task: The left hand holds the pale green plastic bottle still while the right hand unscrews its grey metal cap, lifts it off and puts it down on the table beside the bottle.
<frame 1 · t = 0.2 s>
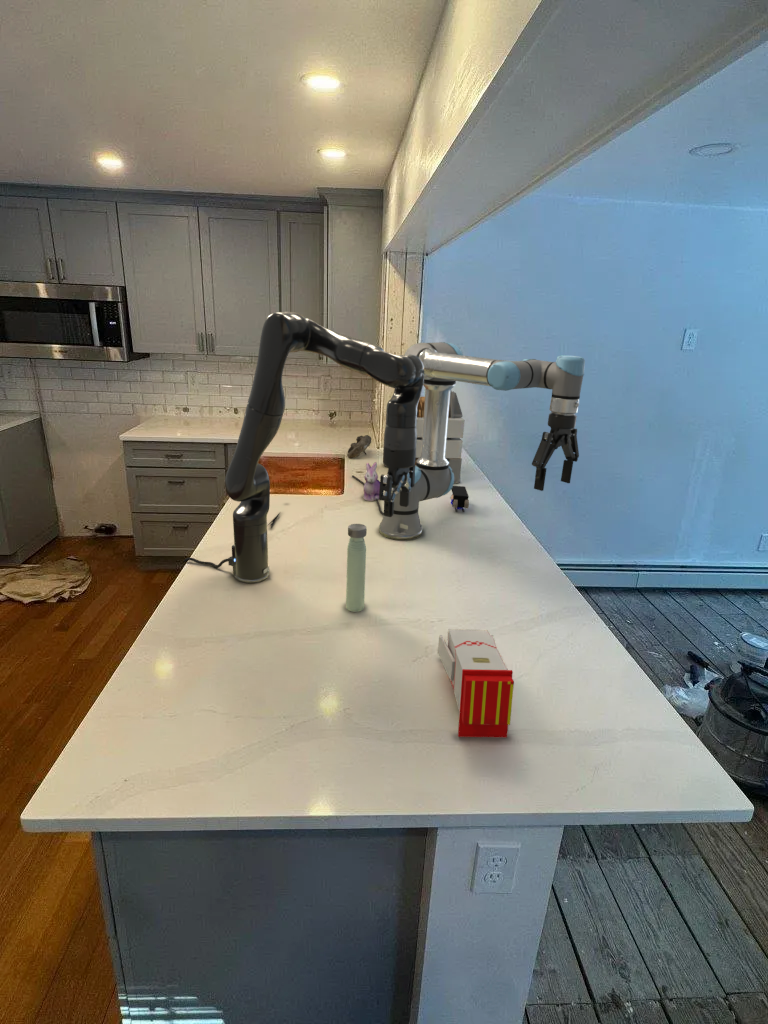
left hand: (396, 511, 136), 29 cm above the counter, tool pointing down, fingers open, 8 cm apart
right hand: (552, 485, 166), 28 cm above the counter, tool pointing down, fingers open, 13 cm apart
bottle: (355, 607, 150), on the counter
grey slatted crate: (419, 473, 275), on the counter
feather: (278, 516, 211), on the counter
toy: (469, 691, 119), on the counter
fossil: (359, 454, 305), on the counter
figurine character: (458, 508, 229), on the counter
figurine: (372, 498, 236), on the counter
cap: (357, 528, 142), point 23 cm above the counter, screwed on, not yet turned
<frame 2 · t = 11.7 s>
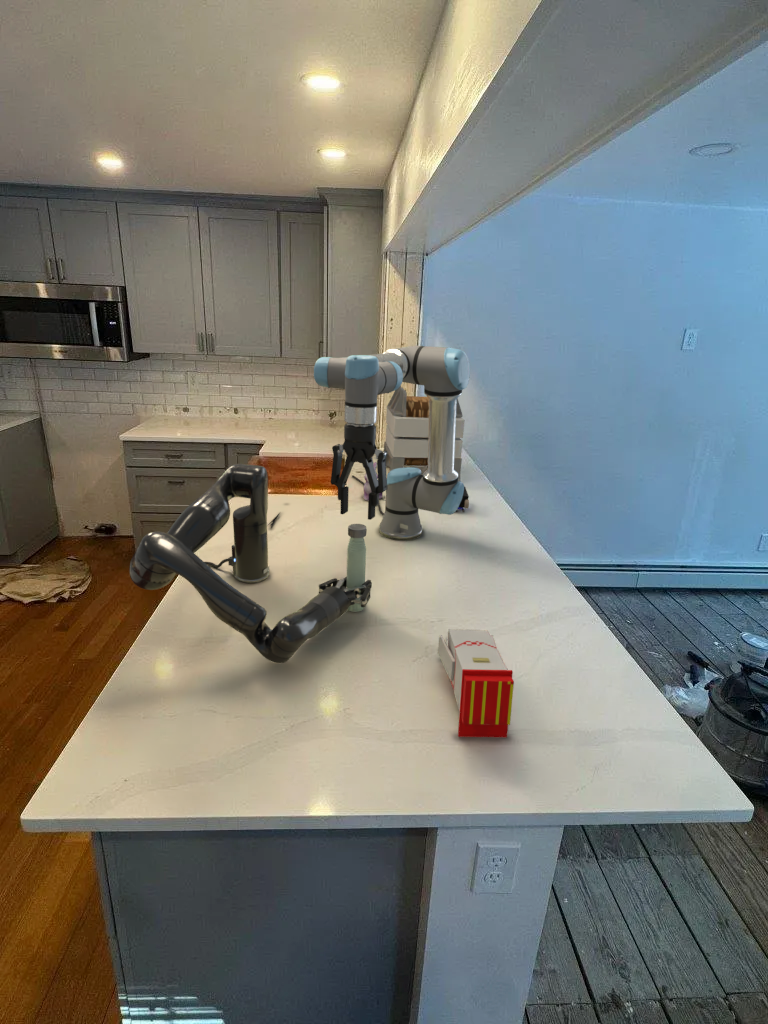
left hand: (360, 580, 150), 7 cm above the counter, tool horizontal, fingers closed on bottle, 4 cm apart
right hand: (357, 515, 141), 26 cm above the counter, tool pointing down, fingers open, 7 cm apart
bottle: (355, 607, 150), on the counter, touching left hand
everything else where it was.
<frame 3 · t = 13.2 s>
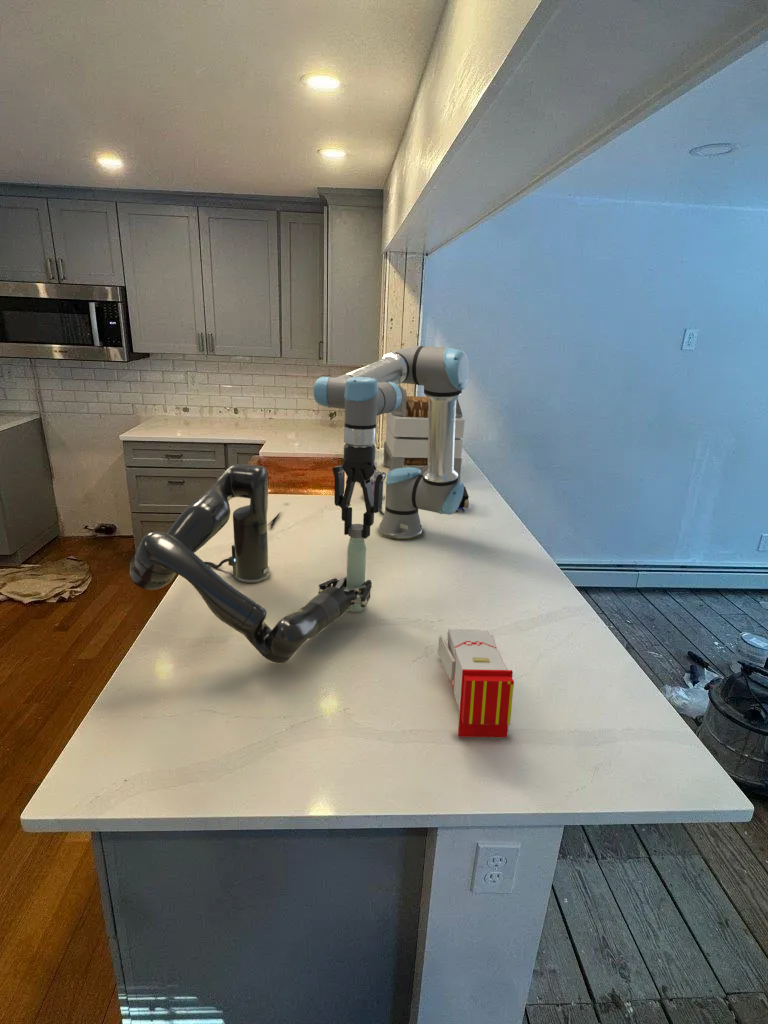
left hand: (360, 580, 150), 7 cm above the counter, tool horizontal, fingers closed on bottle, 4 cm apart
right hand: (357, 534, 143), 21 cm above the counter, tool pointing down, fingers closed on cap, 4 cm apart
bottle: (355, 607, 150), on the counter, touching left hand
cap: (357, 528, 142), point 23 cm above the counter, screwed on, not yet turned, touching right hand
everything else where it was.
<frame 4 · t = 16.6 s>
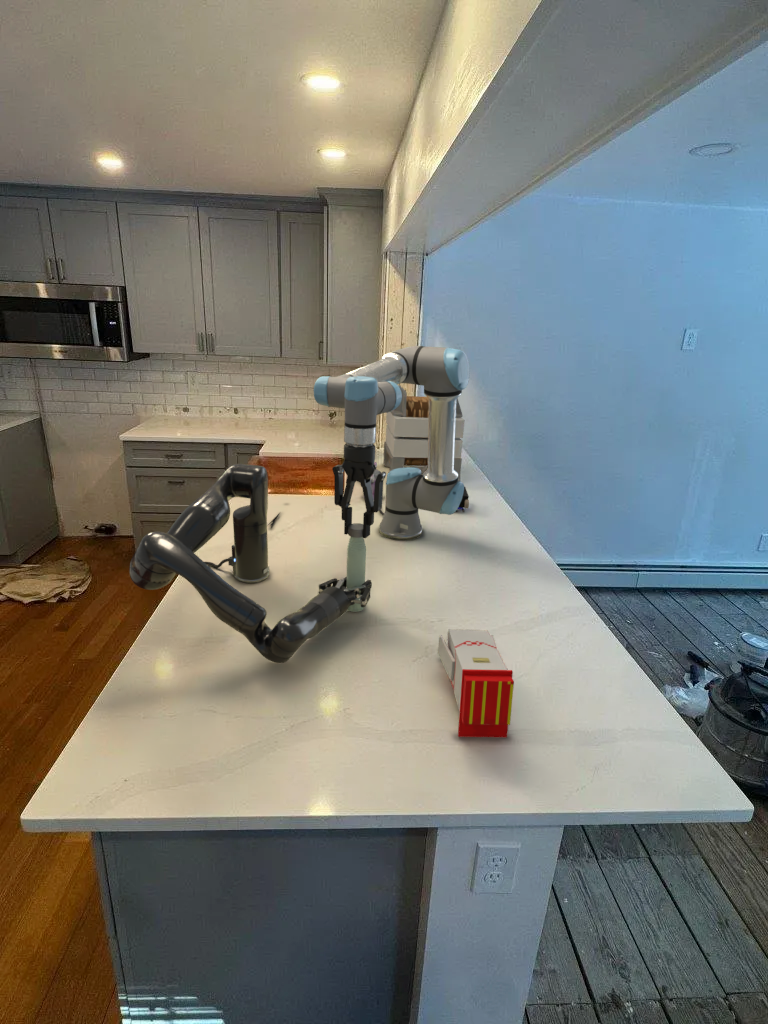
left hand: (360, 580, 150), 7 cm above the counter, tool horizontal, fingers closed on bottle, 4 cm apart
right hand: (357, 534, 143), 21 cm above the counter, tool pointing down, fingers closed on cap, 4 cm apart
bottle: (355, 607, 150), on the counter, touching left hand
cap: (357, 527, 142), point 23 cm above the counter, turned 117° so far, risen 0.1 cm, still on its thread, touching right hand
everything else where it was.
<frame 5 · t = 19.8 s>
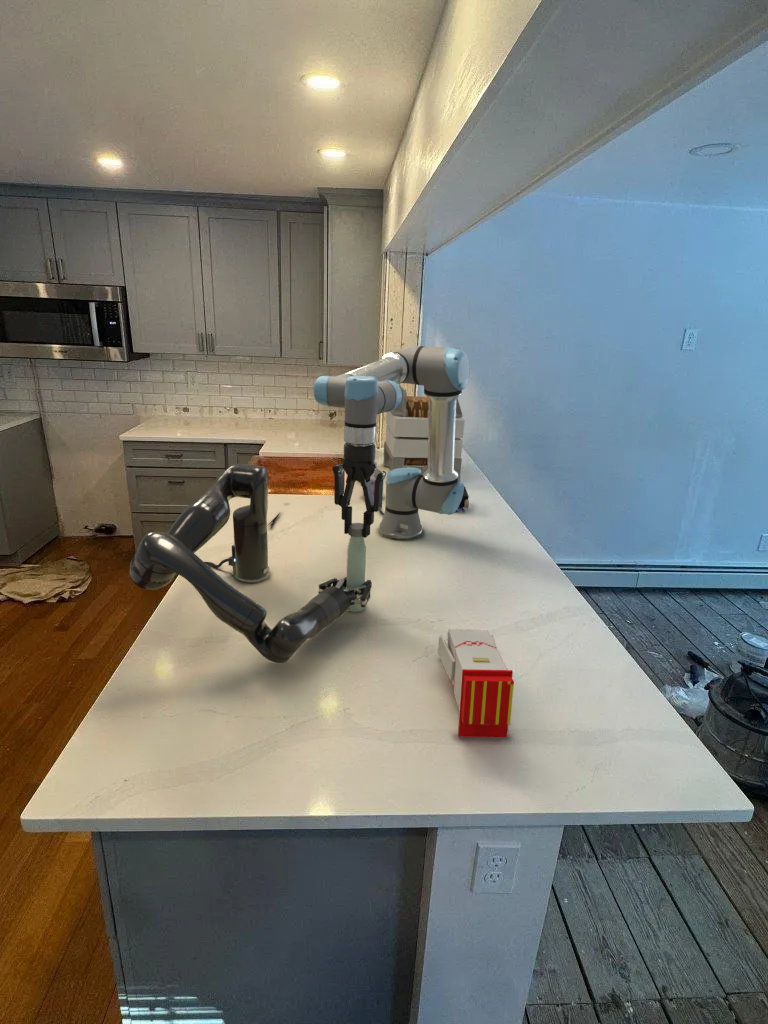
left hand: (360, 580, 150), 7 cm above the counter, tool horizontal, fingers closed on bottle, 4 cm apart
right hand: (357, 533, 143), 21 cm above the counter, tool pointing down, fingers closed on cap, 4 cm apart
bottle: (355, 607, 150), on the counter, touching left hand
cap: (357, 527, 142), point 23 cm above the counter, turned 234° so far, risen 0.3 cm, still on its thread, touching right hand
everything else where it was.
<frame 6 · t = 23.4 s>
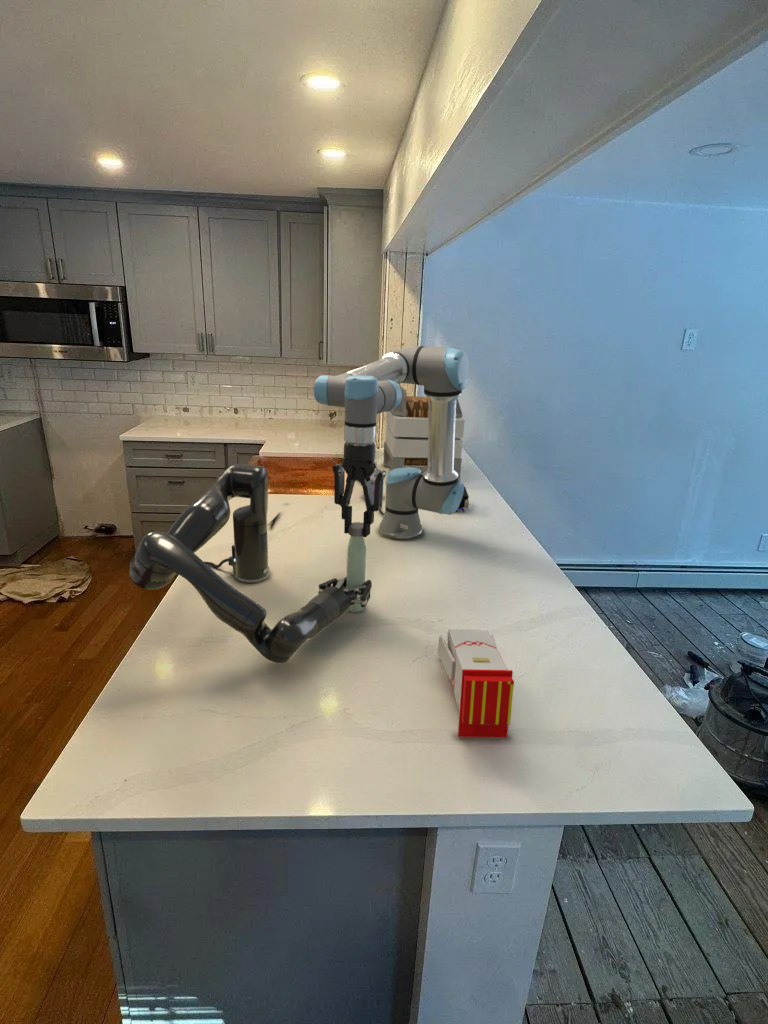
left hand: (360, 580, 150), 7 cm above the counter, tool horizontal, fingers closed on bottle, 4 cm apart
right hand: (357, 533, 143), 21 cm above the counter, tool pointing down, fingers closed on cap, 4 cm apart
bottle: (355, 607, 150), on the counter, touching left hand
cap: (357, 526, 142), point 23 cm above the counter, turned 351° so far, risen 0.4 cm, still on its thread, touching right hand
everything else where it was.
when the right hand's fingers open (2 cm above the counter, at t = 30.5 s): cap drops 2 cm, point 2 cm above the counter.
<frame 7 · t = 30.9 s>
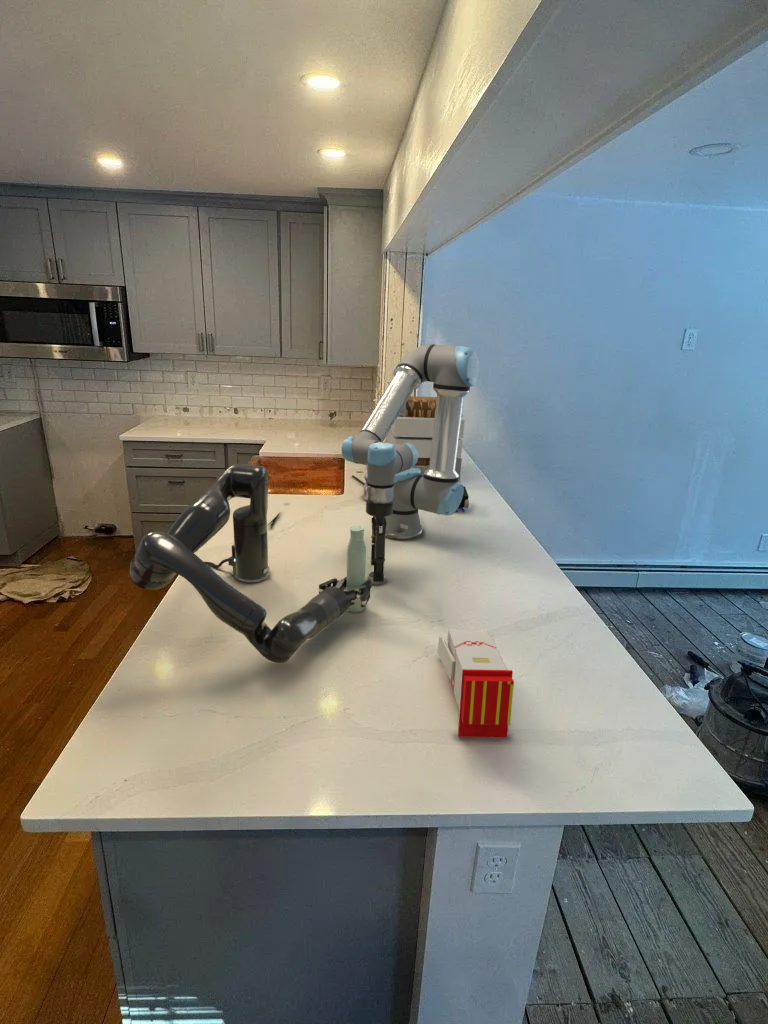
left hand: (360, 580, 150), 7 cm above the counter, tool horizontal, fingers closed on bottle, 4 cm apart
right hand: (376, 572, 164), 3 cm above the counter, tool pointing down, fingers open, 10 cm apart
bottle: (355, 607, 150), on the counter, touching left hand
cap: (376, 575, 164), point 2 cm above the counter, off its thread
everything else where it was.
when the left hand's fingers open (7 cm above the counter, at t = 31.8 s): bottle stays where it is, on the counter.
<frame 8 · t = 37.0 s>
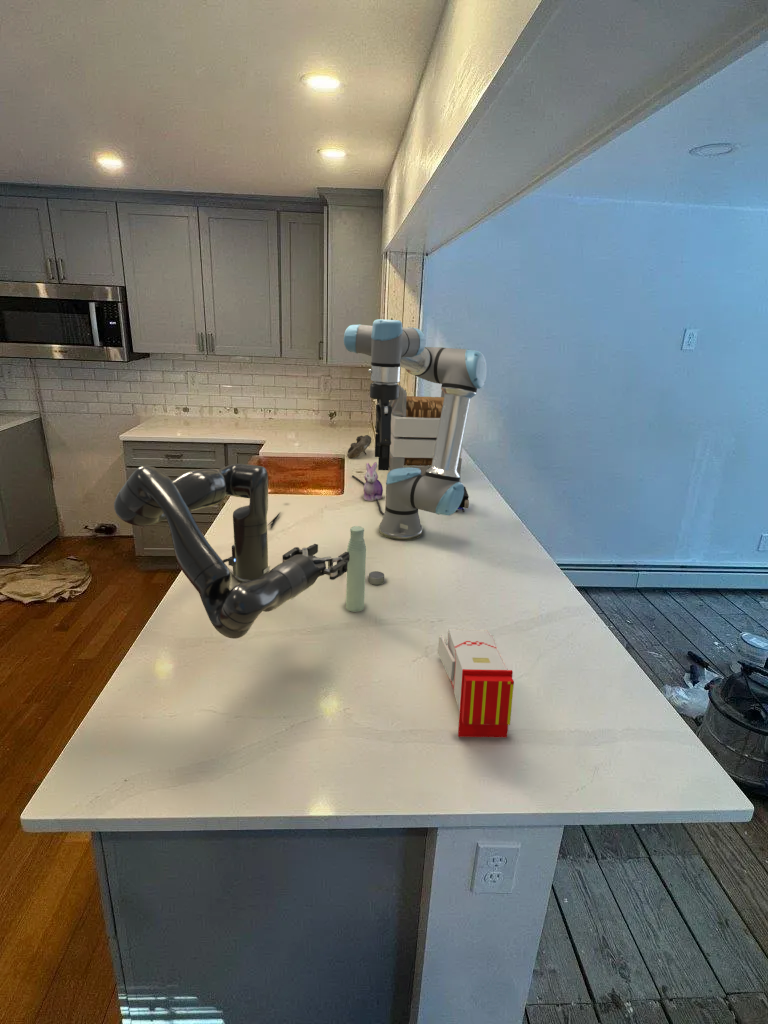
left hand: (332, 551, 133), 21 cm above the counter, tool horizontal, fingers open, 8 cm apart
right hand: (381, 463, 153), 35 cm above the counter, tool pointing down, fingers open, 13 cm apart
bottle: (355, 607, 150), on the counter
everything else where it was.
at the end: cap came off its thread; cap point 1.8 cm above the counter; the left hand is holding nothing; the right hand is holding nothing; bottle tilted 0°; bottle moved 0.0 cm from its start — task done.
